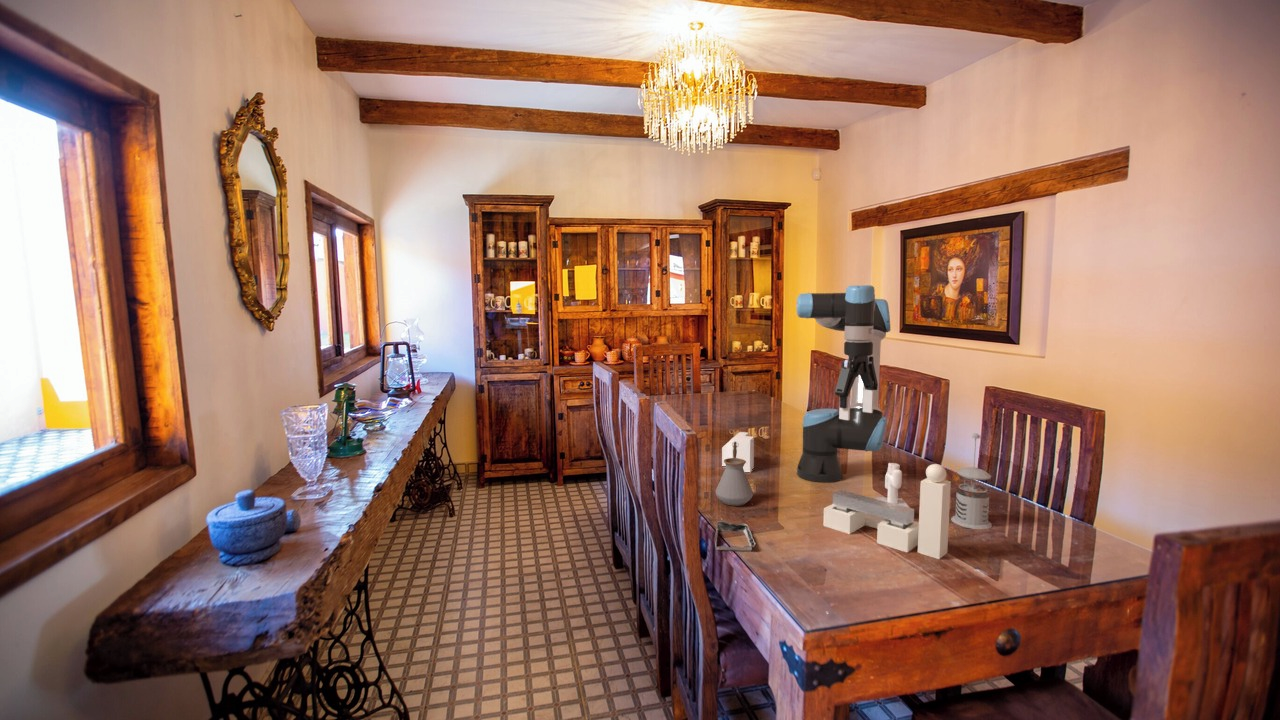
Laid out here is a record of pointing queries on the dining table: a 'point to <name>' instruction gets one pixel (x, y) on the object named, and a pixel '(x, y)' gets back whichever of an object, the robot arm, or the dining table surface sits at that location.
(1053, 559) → the dining table surface
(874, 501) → the grey bench
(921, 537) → the headboard post
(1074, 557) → the dining table surface
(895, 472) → the figurine
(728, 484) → the grey vase
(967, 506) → the french press
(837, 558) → the dining table surface
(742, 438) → the corner bracket
